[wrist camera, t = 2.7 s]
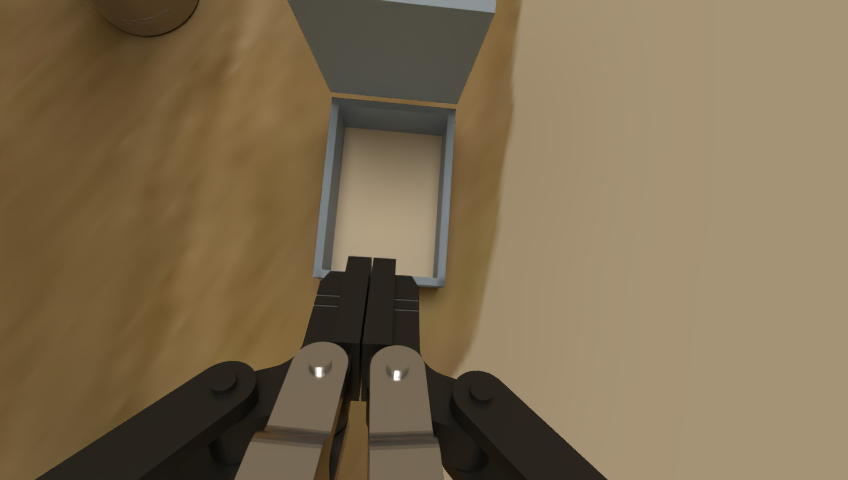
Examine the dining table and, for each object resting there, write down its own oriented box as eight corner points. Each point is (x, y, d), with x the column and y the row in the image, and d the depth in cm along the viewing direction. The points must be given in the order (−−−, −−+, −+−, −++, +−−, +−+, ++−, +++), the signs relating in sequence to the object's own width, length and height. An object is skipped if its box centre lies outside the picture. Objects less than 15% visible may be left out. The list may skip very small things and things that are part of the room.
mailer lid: (330, 92, 33) (331, 81, 33) (457, 104, 34) (457, 94, 34) (282, -11, 20) (283, -28, 20) (495, 12, 20) (496, -4, 20)
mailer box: (340, 122, 39) (332, 97, 34) (448, 132, 39) (455, 109, 34) (324, 279, 37) (312, 276, 32) (438, 288, 37) (444, 286, 32)
